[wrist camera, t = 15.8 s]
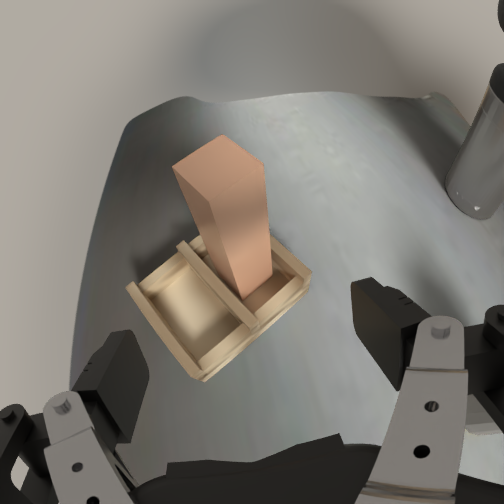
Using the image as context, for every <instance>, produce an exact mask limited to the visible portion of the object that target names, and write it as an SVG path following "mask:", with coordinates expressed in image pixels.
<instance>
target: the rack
mask: <svg viewBox="0 0 504 504" xmlns="http://www.w3.org/2000/svg"><path fill="white" fill-rule="evenodd" d="M270 247H271V260H272V273H273V276H272V277H271V278H270V279H268V280H267V281H266V282H265V283H264V284H263V285H261V286H260V287H259V288H258V289H257V290H255V291H254V292H253V293H252V294H251V295H249V296H248V297H247V298H246V299H245V300H244V301H242V300H241V299H240V298H239V297H238V296H237V294H236V293H235V292H234V291H233V290H232V289H231V288H230V287H229V286H228V285H227V284H226V283H225V281H224V280H223V279H222V278H221V277H220V276H219V275H218V273H217V271H216V269H215V267H214V264H213V262H212V260H211V258H210V255H209V253H208V251H207V249H206V246H205V244H204V242H203V239H202V237H201V235H199V236H197V237H196V238H195V239H194V240H192V241H191V242H190V243H189V244H187V243H186V242H185V241H184V240H183V241H182V242H181V243H180V244H178V245H177V246H176V248H177V249H178V252H177V253H176V254H175V255H173V256H172V257H171V258H170V259H168V260H167V261H166V262H165V263H163V264H162V265H161V266H160V267H159V268H157V269H156V270H155V271H154V272H152V273H151V274H150V275H149V276H148V277H146V278H145V279H144V280H143V281H141V282H140V283H139V284H138V285H136V284H135V283H134V282H131V283H130V284H129V285H128V286H127V287H125V288H126V289H127V291H128V292H129V294H130V295H131V297H132V298H133V300H134V301H135V303H136V304H137V305H138V307H139V308H140V310H141V311H142V313H143V314H144V316H145V317H146V318H147V320H148V321H149V323H150V324H151V325H152V327H153V328H154V330H155V331H156V332H157V334H158V335H159V336H160V338H161V339H162V340H163V342H164V343H165V344H166V346H167V347H168V348H169V350H170V351H171V352H172V354H173V355H174V356H175V358H176V359H177V360H178V361H179V363H180V364H181V365H182V366H183V368H184V369H185V370H186V371H187V373H188V374H189V375H190V376H191V377H192V378H195V379H197V380H200V381H203V382H206V381H207V380H208V379H209V378H211V377H212V376H213V375H214V374H215V373H217V372H218V371H219V370H220V369H221V368H223V367H224V366H225V365H226V364H227V363H229V362H230V361H231V360H232V359H233V358H234V357H236V356H237V355H238V354H239V353H240V352H241V351H243V350H244V349H245V348H246V347H247V346H248V345H250V344H251V343H252V342H253V341H254V340H255V339H256V338H258V337H259V336H260V335H261V334H262V333H263V332H264V331H265V330H267V329H268V328H269V327H270V326H271V325H272V324H273V323H274V322H276V321H277V320H278V319H279V318H280V317H281V316H282V315H283V314H284V313H285V312H287V311H288V310H289V309H290V308H291V307H292V306H293V305H294V304H295V303H296V302H297V301H298V300H300V299H301V298H302V297H303V296H304V295H305V294H306V293H307V292H308V289H309V284H310V279H311V273H312V271H311V270H309V269H308V268H307V267H306V266H305V265H304V264H303V263H302V262H301V261H300V260H298V259H297V258H296V257H295V256H294V255H293V254H292V253H291V252H289V251H288V250H287V249H286V248H285V247H284V246H283V245H282V244H281V243H279V242H278V241H277V240H276V239H275V238H274V237H273V236H272V235H270Z"/></svg>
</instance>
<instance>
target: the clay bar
mask: <svg viewBox="0 0 504 504" xmlns="http://www.w3.org/2000/svg"><path fill="white" fill-rule="evenodd" d="M172 168H173V171H174V173H175V176H176V178H177V181H178V183H179V185H180V188H181V190H182V193H183V195H184V197H185V200H186V202H187V205H188V207H189V209H190V212H191V214H192V216H193V219H194V221H195V223H196V226H197V228H198V230H199V233H200V235H201V237H202V239H203V242H204V244H205V246H206V249H207V251H208V253H209V255H210V258H211V260H212V262H213V264H214V267H215V269H216V271H217V273H218V275H219V276H220V277H221V278H222V279H223V280H224V281H225V283H226V284H227V285H228V286H229V287H230V288H231V289H232V290H233V291H234V292H235V293H236V294H237V296H238V297H239V298H240V299H241V300H242V301H244V300H245V299H246V298H247V297H248V296H249V295H251V294H252V293H253V292H254V291H255V290H257V289H258V288H259V287H260V286H261V285H263V284H264V283H265V282H266V281H267V280H268V279H270V278H271V277H272V276H273V273H272V260H271V247H270V234H269V222H268V210H267V198H266V186H265V175H264V164H263V163H262V162H261V161H259V160H258V159H257V158H255V157H254V156H253V155H251V154H250V153H248V152H247V151H246V150H244V149H243V148H241V147H240V146H239V145H237V144H236V143H234V142H233V141H231V140H230V139H229V138H227V137H226V136H224V135H223V134H222V135H220V136H218V137H217V138H215V139H214V140H212V141H210V142H209V143H207V144H206V145H204V146H202V147H201V148H199V149H198V150H196V151H195V152H193V153H191V154H190V155H188V156H187V157H185V158H184V159H182V160H181V161H179V162H178V163H176V164H175V165H173V166H172Z"/></svg>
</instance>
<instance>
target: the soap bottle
mask: <svg viewBox="0 0 504 504" xmlns="http://www.w3.org/2000/svg"><path fill="white" fill-rule="evenodd" d="M465 428H466V429H467V431H468V432H469V433H472V434H475V435H487V434H498V433H503V432H502V431H501V430H500V428H499V427H498V426H497V424H496V423H495V422H494V421H493V419H492V418H491V417H490V415H489V414H488V413H487V412H486V410H485V409H484V408H483V406H482V405H481V404H480V403H479V401H478V400H477V399H476V398H475V397H474V395H473V394H471V395H467V410H466V421H465Z"/></svg>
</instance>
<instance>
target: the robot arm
mask: <svg viewBox="0 0 504 504" xmlns="http://www.w3.org/2000/svg"><path fill="white" fill-rule="evenodd" d="M498 20H499V24H500V27H501V28H502V30H503V32H504V0H499V4H498ZM445 186H446V190H447V192H448V195H449V196H450V198H451V200H452V201H453V202H454V204H455V205H456V206H457V207H458V208H459V209H460V210H461V211H463V212H464V213H465V214H467V215H469V216H471V217H473V218H476V219H482V220H483V219H488V218H490V217H491V216H492V215H493V214H494V213H495V211H496V210H497V209H498V207H499V206H500V205H501V204H502V202H503V201H504V63H502V64H498V65H497V66H496V67H495V68H494V70H493V73H492V76H491V78H490V81H489V84H488V87H487V89H486V92H485V94H484V97H483V100H482V102H481V104H480V107H479V109H478V111H477V114H476V116H475V118H474V121H473V123H472V126H471V127H470V129H469V132H468V134H467V136H466V138H465V140H464V142H463V144H462V146H461V148H460V150H459V152H458V154H457V156H456V158H455V160H454V162H453V164H452V166H451V168H450V170H449V172H448V174H447V176H446V179H445ZM351 299H352V312H353V324H354V328H355V331H356V334H357V336H358V338H359V339H360V340H361V342H362V343H363V344H364V346H365V347H366V349H367V350H368V351H369V353H370V354H371V356H372V357H373V358H374V360H375V361H376V363H377V364H378V365H379V367H380V368H381V370H382V371H383V373H384V374H385V375H386V377H387V378H388V380H389V381H390V383H391V384H392V385H393V387H394V388H395V390H396V391H399V390H400V392H399V396H398V399H397V403H396V406H395V409H394V412H393V415H392V418H391V421H390V424H389V427H388V430H387V433H386V436H385V439H384V442H383V444H382V446H378V445H372V444H343V441H342V439H341V436H340V434H339V433H338V434H335V435H332V436H328V437H325V438H321V439H317V440H313V441H310V442H306V443H301V444H297V445H295V446H292V447H290V448H288V449H286V450H283V451H281V452H278V453H276V454H274V455H271V456H269V457H266V458H264V459H261V460H258V461H255V462H229V461H216V460H200V461H188V462H173V463H168V464H167V471H166V475H163V476H160V477H157V478H154V479H152V480H150V481H147V482H145V483H143V484H142V485H139V484H138V482H137V481H136V479H135V478H134V476H133V475H132V473H131V472H130V470H129V469H128V467H127V466H126V464H125V463H124V461H123V459H122V458H121V456H120V454H119V453H118V452H117V450H116V449H115V447H116V444H117V443H131V439H132V436H133V432H134V428H135V425H136V421H137V418H138V415H139V411H140V408H141V404H142V401H143V398H144V394H145V391H146V388H147V385H148V381H149V369H148V366H147V363H146V361H145V358H144V356H143V354H142V352H141V349H140V347H139V345H138V342H137V340H136V337H135V335H134V333H133V332H132V331H131V330H123V331H117V332H112V333H110V335H109V336H108V338H107V340H106V341H105V343H104V345H103V346H102V347H101V348H100V349H99V350H97V351H96V352H95V353H94V354H93V355H92V357H91V358H90V360H89V361H88V365H86V366H85V368H84V372H82V373H81V375H80V376H79V378H78V380H77V382H76V383H75V385H74V387H73V388H72V390H71V391H66V392H62V393H59V394H57V395H55V396H54V397H52V398H51V399H50V400H49V401H48V402H47V403H46V405H45V406H44V408H43V413H39V414H35V415H31V416H29V415H28V413H27V412H26V410H25V409H24V407H23V406H22V405H20V404H12V405H9V406H7V407H5V408H4V409H2V410H1V411H0V504H58V503H60V504H504V485H500V484H496V483H492V482H488V481H484V480H481V479H477V478H474V477H470V476H467V475H463V474H460V473H458V472H459V466H460V460H461V454H462V447H463V439H464V431H465V421H466V410H467V395H471V394H473V395H474V397H475V398H476V399H477V400H478V401H479V403H480V404H481V405H482V406H483V408H484V409H485V410H486V412H487V413H488V414H489V415H490V417H491V418H492V419H493V421H494V422H495V423H496V424H497V426H498V427H499V428H500V430H501V431H502V432H503V434H504V305H496V306H493V307H491V308H489V309H488V310H487V311H486V313H485V319H484V324H479V325H474V326H468V327H463V325H462V323H461V322H460V321H459V320H457V319H455V318H453V317H449V316H433V317H432V316H431V315H430V314H428V313H427V312H426V311H425V310H423V309H422V308H421V307H420V306H419V305H417V304H416V303H415V302H414V303H413V301H412V300H411V299H410V298H409V297H408V298H407V296H406V295H405V294H404V293H402V292H401V291H400V290H398V289H395V288H392V287H389V286H386V287H383V286H382V285H381V284H380V283H378V282H377V281H376V280H375V279H374V278H372V277H369V278H365V279H362V280H358V281H354V282H352V283H351ZM18 456H19V457H20V458H21V459H22V460H23V462H24V463H25V464H26V465H27V466H28V467H29V470H28V472H27V475H26V477H25V480H24V482H23V485H22V487H21V490H20V491H19V490H18V489H17V488H16V487H15V486H14V484H13V483H12V480H11V470H12V468H13V466H14V463H15V461H16V459H17V457H18Z"/></svg>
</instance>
